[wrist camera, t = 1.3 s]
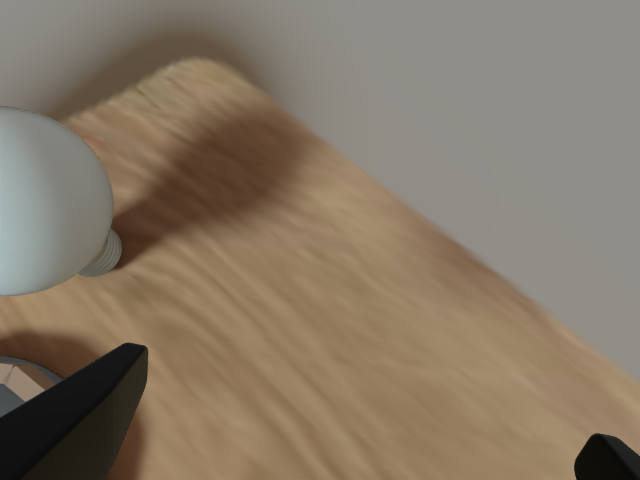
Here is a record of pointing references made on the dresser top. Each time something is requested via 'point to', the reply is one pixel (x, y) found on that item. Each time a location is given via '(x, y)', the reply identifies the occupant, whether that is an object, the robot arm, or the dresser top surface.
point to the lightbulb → (51, 206)
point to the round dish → (22, 381)
